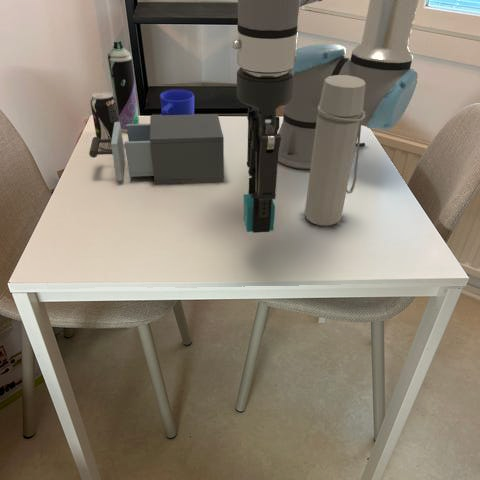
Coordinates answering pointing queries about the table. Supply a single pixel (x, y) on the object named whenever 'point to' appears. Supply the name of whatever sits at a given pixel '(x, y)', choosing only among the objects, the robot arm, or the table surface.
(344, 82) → the water bottle
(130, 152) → the drawer
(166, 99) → the mug
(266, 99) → the robot arm
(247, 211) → the cube
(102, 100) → the beverage can
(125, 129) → the spray can
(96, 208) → the table surface
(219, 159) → the grey drawer cabinet
